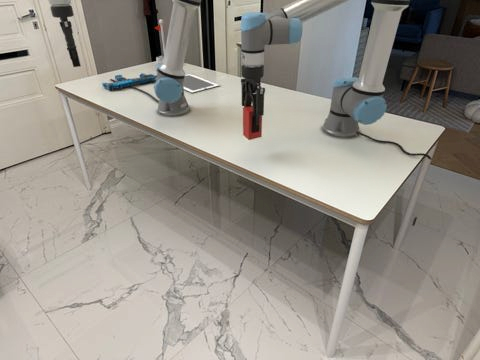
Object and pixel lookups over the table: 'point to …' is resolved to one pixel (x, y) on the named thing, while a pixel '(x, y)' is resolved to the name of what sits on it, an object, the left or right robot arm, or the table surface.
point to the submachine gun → (128, 81)
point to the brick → (250, 124)
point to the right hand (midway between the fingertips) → (252, 128)
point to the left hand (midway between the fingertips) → (75, 62)
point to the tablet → (197, 83)
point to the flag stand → (160, 28)
